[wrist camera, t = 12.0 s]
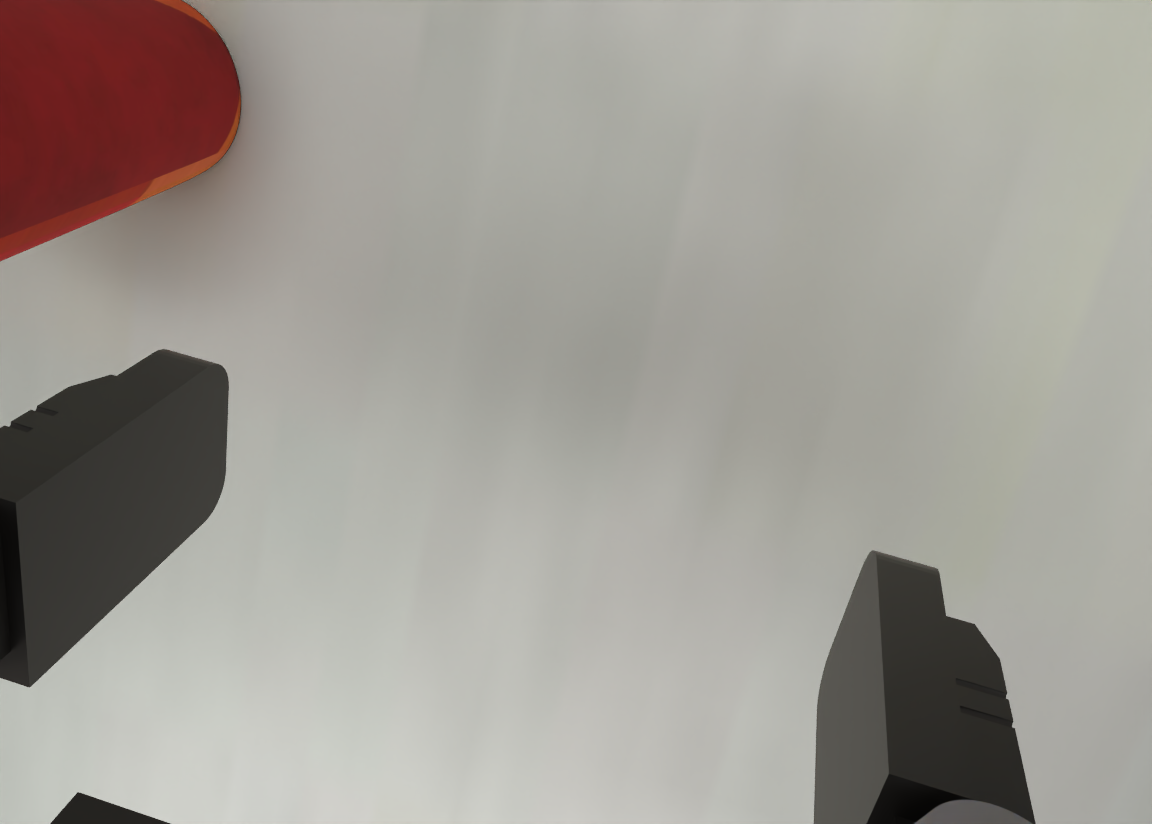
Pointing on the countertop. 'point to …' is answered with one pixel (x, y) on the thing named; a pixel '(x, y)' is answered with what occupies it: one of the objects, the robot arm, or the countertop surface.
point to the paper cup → (104, 109)
